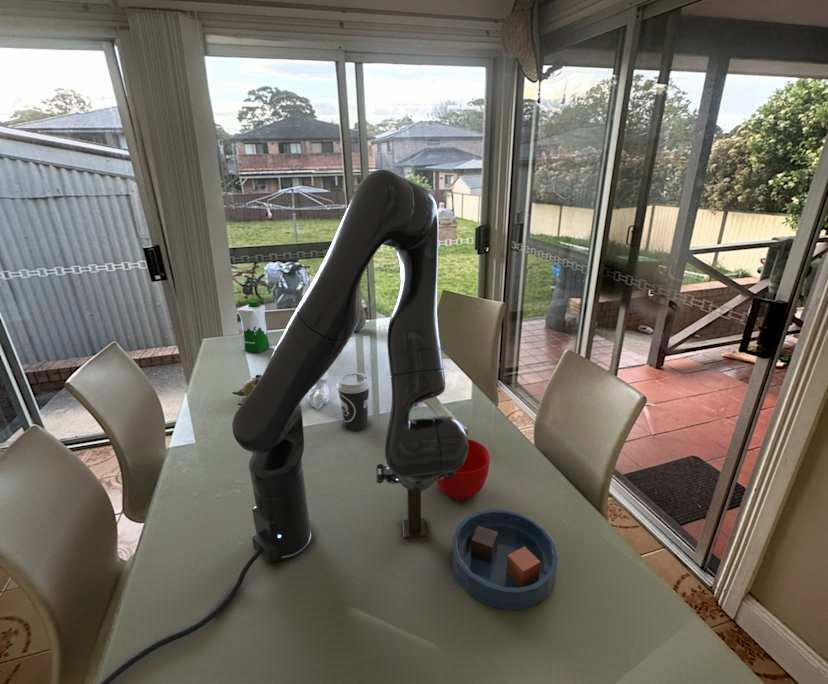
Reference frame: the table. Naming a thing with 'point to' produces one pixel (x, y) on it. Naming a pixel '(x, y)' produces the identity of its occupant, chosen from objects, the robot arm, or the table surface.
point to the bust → (319, 392)
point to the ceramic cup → (468, 473)
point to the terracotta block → (523, 567)
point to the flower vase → (439, 409)
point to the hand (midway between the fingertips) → (413, 476)
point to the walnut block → (484, 544)
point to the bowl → (503, 560)
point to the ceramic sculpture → (248, 388)
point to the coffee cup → (354, 400)
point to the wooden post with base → (414, 516)
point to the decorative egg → (361, 318)
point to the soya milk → (254, 326)
